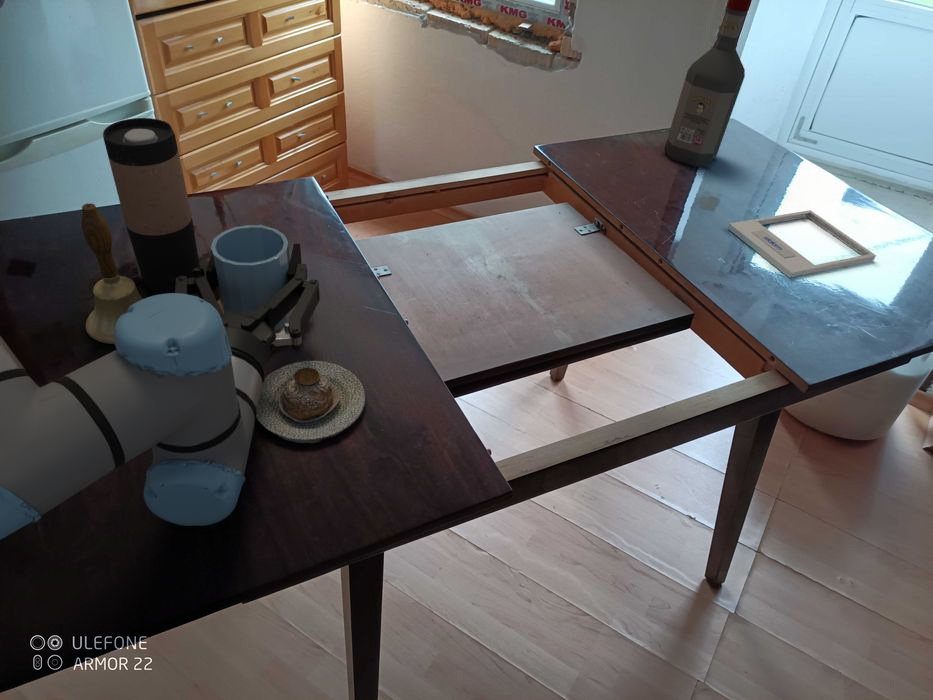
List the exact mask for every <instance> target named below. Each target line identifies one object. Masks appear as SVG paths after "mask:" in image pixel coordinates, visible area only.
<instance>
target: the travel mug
mask: <svg viewBox="0 0 933 700" xmlns="http://www.w3.org/2000/svg"><path fill="white" fill-rule="evenodd" d="M172 127H173V126H172V125H171V124H170V123H169V122H167V121H165V120H163V119H162V120H161V119H158V118H151V117H135V118H128V119H127V118H126V119H122V120H119V121H116V122H113V123H111V124H109V125H108V126H106V128H104V130H103V133H102V138H103V142H104V146H105V150H106V155H107V158H108V162H109V166H110V169H111V173H112V177H113V181H114V185H115V189H116V191H117V196H118V200H119V204H120V208H121V212H122V216H123V220H124V223H125V228H126V230H127V233H128V237H129V240H130V243H131V246H132V250H133V253H134V257H135V259H136V263H137V266H138V269H139V272H140V276H141V278H142V282H143V283H144V285H145V286H146V287H147V288H149V289H150V290H152V291H156V292H159V293H175V285H176V278H177V277H179V276H186V277H187V279H188V278H192V277H194V275H193V269H194V268H197V267H200V258H199V252H198V245H197V239H196V234H195V233H196V232H195V227H194V219H193V214H192V210H191V205H190V199H189V196H188V190H187V186H186V181H185V177H184V171H183V166H182V162H181V157H180V152H179V147H178V142H177V138H176V133H175V131H174V130H173V128H172Z"/></svg>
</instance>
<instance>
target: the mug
mask: <svg viewBox="0 0 933 700" xmlns="http://www.w3.org/2000/svg"><path fill="white" fill-rule="evenodd" d="M210 251H211V252H210V253H211V255H212V258H213V263H214V269H215V274H216V280H217V285H218V286H217V290H218V296H219V299H220V302H221V307H222V311H223V314H225V312H235V313H246V312H253V311H254V310H255V309H257V308H258V307H259V306H260V305H265V304H266V303H267V302H268V301H269V300H270V299H271V298H272V297H274V296H275V295H276V294H277V293H278V292H279V291H280V290H281V289H282V288H283V287H284V286H285V285H286V284H287V283H288V277H287V273H288V269H289V264H290V259H291V255H290V247H289V241H288V239H287V237H286V235H285V234H284V233H283V232H281V231H280V230H278V229H276V228H274V227H270V226H266V225H264V224H257V225H255V224H247V225H246V224H245V225H240V226H234V227H232V228H230V229H226V230H224V231H222V232H220V233H219V234H218V235H217V236H215V237H214V238H213V239H212V242H211V245H210ZM293 310H294V308H293V309H292V310H291V311H290V312H289V313H288V314H287V315H286V316H285V317H284V318H283V319H282V320H281V321H280V322H279V323H278V324H277V325H276V326H275V328H274V331H276V330H279V329H281V328H282V327H284V324H285V323H289V318H290V316H291V314H292V312H293Z"/></svg>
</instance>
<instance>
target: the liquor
mask: <svg viewBox="0 0 933 700" xmlns="http://www.w3.org/2000/svg"><path fill="white" fill-rule="evenodd" d="M752 1H753V0H728V2H727V5H726V8H727V9H726V12H725V15H724V18H723V21H722V24H721V27H720V31H719V33H718V37H717V39H716V40H715V42H714V44H713V46H712V48H710V49H709V50H708V51H706V52H705V53H704V54H703V55H701V56H700V57H699V58H697V59H696V60H695V61H693V63H692V64H691V65H690V67H689V68H688V69H687V71H686V75H685V79H684V80H683V81H684V82H683V85H682V88H681V90H680V91H681V92H680V95H679V98H678V102H677V105H676V108H675V112H674V115H673V118H672V121H671V124H670V129H669V132H668V135H667V138H666V142H665V145H664V149H663V150H664V154H665V155H666V156H667V157H668V158H669V159H670V160H672V161H675V162H678V163H682V164H684V165H686V166H687V165H688V166H690V167H693V168H704V167H705V168H706V167H708V166H709V165H710V163H711V162H712V161H713V160H714V159H715V158H716V156H717V155H718V153H719V150H720V147H721V145H722V142H723V138H724V136H725V133H726V131H727V130H726V129H727V128H728V124H729V123H730V119H731V116H732V114H733V111H734V108H735V105H736V102H737V99H738V97H739V94H740V91H741V88H742V85H743V82H744V79H745V77H746V76H745V75H746V72H745V71H746V69H745V67H744V64H743V63H742V60H741V57H740V56H739V53H738V51H737V47H738V40H739V35H740V33H741V30H742V27H743V23H744V21H745V18H746V15H747V12H748V11H749V10H750V7H751V4H752Z"/></svg>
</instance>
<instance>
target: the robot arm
mask: <svg viewBox="0 0 933 700" xmlns="http://www.w3.org/2000/svg"><path fill="white" fill-rule="evenodd" d="M5 1H6V0H0V9H1V8H2V7H4V4H5ZM199 265H200V267H197V268H194V269H193V275H194V277H192V278H188V279H187V277H186V276H179V277H177V278H176V285H175V292H166V293H161V294H155V295H151V296H148V297H145V298H143V299H142V300H140V301H138V302H136V303H134V304H133V305H131V306H130V307H129V308H128V310H127V312H126V313H125V314H124V315H122V316H120V318H119V319H118V321H117V323H116V326H115V337H116V339H115V341H116V342H115V344H114V346H115V348H116V349H115V350H113V351H111V352H109V353H107V354H105V355H103V356H101V357H99V358H97V359H95V360H93V361H91V362H90V363H88V364H85V365H84V366H81V367H79V368H77V369H75V370H74V371H71V372H70V373H68V374H65V375H63V376H62V377H60V378H58V379H55V380H53V381H51V382H49V383H47V384H45V385H43V386H41V387H40V386H38V385H37V383H36V382H35V381H34V380H33V379H32V378H31V377H30V376H29V374H28V372H27V371H26V369H25V367H24V366H23V364H22V363H21V361H20V360H19V359H18V358H17V356H16V355H15V354H14V352H13V351H12V350H11V348H10V347H9V346H8V344H7V342H6V341H5V340H4V338H3V337H2V336H1V335H0V541H1V540H2V539H4V538H6V537H8V536H10V535H11V534H13V533H15V532H16V531H19V530H20V529H21V528H23V527H25V526H27V525H29V524H30V523H36V522H38V521H39V520H42V516H43V515H45V514H46V513H48V512H49V511H51V510H52V509H54V508H56V507H58V506H59V505H60V504H62V503H64V502H65V501H67V500H69V499H70V498H72V497H73V496H74V495H77V494H78V493H79V492H81V491H83V490H84V489H86V488H88V487H89V486H90V485H92V484H94V483H95V482H97V481H98V480H100V479H102V478H103V477H105V476H106V475H108V474H110V473H111V472H112V471H114V470H116V469H118V468H119V467H121V466H123V465H125V464H126V463H128V462H130V461H132V460H134V458H136V457H138V456H139V455H141V454H143V453H144V452H146V451H148V450H149V449H151V451H152V461H151V465H150V466H149V467H148V468H147V469H146V473H145V476H146V477H145V482H144V488H143V500H144V503H145V504H146V506H147V508H148V509H149V510H150V511H151V512H152V513H153V514H154V515H155V516H157V517H159V518H160V519H163V520H164V521H166V522H168V523H172V524H175V525H179V526H185V527H192V526H198V527H199V526H200V527H204V526H209V525H214V524H216V523H219V522H221V521H223V520H224V519H226V518H227V517H229V516H230V515H231V513H233V512H234V510H235V508H236V506H237V505H238V499H239V497H240V494H241V490H242V488H243V485H244V483H245V482H246V477H245V473H246V468H247V463H248V459H249V455H250V449H251V444H252V439H253V435H254V429H255V424H256V420H257V418H256V415H257V410H258V406H259V402H260V398H261V393H262V389H263V384H264V380H265V377H266V376H267V371H268V365H269V362H270V357H271V354H272V353H273V352H274V351H275V350H276V349H277V348H278V347H277V346H279V347H283V346H290V348H291V350H292V351H295V352H296V351H301V350H303V335H304V333H305V332H306V329H307V327H308V326H309V323H310V321H311V319H312V317H313V314H314V313H315V310H316V309H317V306H318V305H319V302H320V300H321V296H320V294H321V293H320V281H319V280H318V279H315V278H314V279H309V280H308V265H307V264H306V263H302V250H301V243H293V245H292V249H291V255H290V264H289V269H288V273H287V277H288V283H287V284H286V285H285V286H284V287H283V288H282V289H281V290H280V291H279V292H278V293H277V294H276V295H275V296H274V297H272V298H271V299H270V300H269V301H268V302H267V303H266V304H265V305H260V306H259V307H258V308H257V309H255V310H254V311H253V312H246V313H235V312H225V314H223V311H222V309H221V307H220V305H219V304H218V303H217V301H218V300H217V298H216V296H215V294H214V292H215V291H217V290H218V285H217V280H216V274H215V269H214V263H213V258H212V254H211V255H210V258H209V260H202V261H201V262H200V263H199ZM196 294H197V296H196ZM294 307H295V308H294ZM293 308H294V310H293V312H292V314H291V316H290V318H289V323H285V324H284V328H283V329H282V331H281V332H279V333H276V334H275V332H274V328H275V326H276V325H277V324H278V323H279V322H280V321H281V320H282V319H283V318H284V317H285V316H286V315H287V314H288V313H289V312H290V311H291V310H292V309H293Z"/></svg>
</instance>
